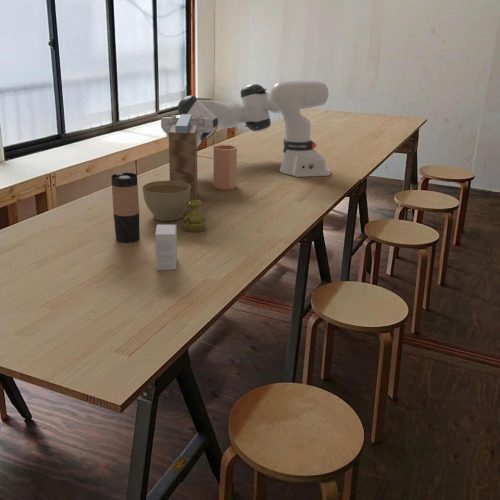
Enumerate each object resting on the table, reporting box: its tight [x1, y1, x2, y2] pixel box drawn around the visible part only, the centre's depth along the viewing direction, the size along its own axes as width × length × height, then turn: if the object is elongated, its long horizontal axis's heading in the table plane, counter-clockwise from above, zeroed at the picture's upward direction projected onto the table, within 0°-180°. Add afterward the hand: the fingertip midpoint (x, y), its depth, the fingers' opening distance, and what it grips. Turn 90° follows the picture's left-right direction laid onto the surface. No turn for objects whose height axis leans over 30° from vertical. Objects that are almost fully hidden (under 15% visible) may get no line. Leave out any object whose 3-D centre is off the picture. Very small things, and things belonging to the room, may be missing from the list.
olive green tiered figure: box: [182, 198, 207, 233], centre depth 190 cm, size 7×7×10 cm
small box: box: [154, 224, 178, 271], centre depth 163 cm, size 8×6×10 cm
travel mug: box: [111, 172, 141, 244], centre depth 178 cm, size 8×8×20 cm
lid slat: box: [175, 114, 192, 133], centre depth 215 cm, size 24×4×2 cm, turn 1°
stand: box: [168, 125, 198, 200], centre depth 217 cm, size 9×14×26 cm, turn 1°
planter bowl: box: [141, 180, 191, 222], centre depth 199 cm, size 16×16×11 cm
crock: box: [213, 144, 238, 191], centre depth 234 cm, size 9×9×16 cm
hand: (185, 117), depth 224 cm, fingers open, 8 cm apart
